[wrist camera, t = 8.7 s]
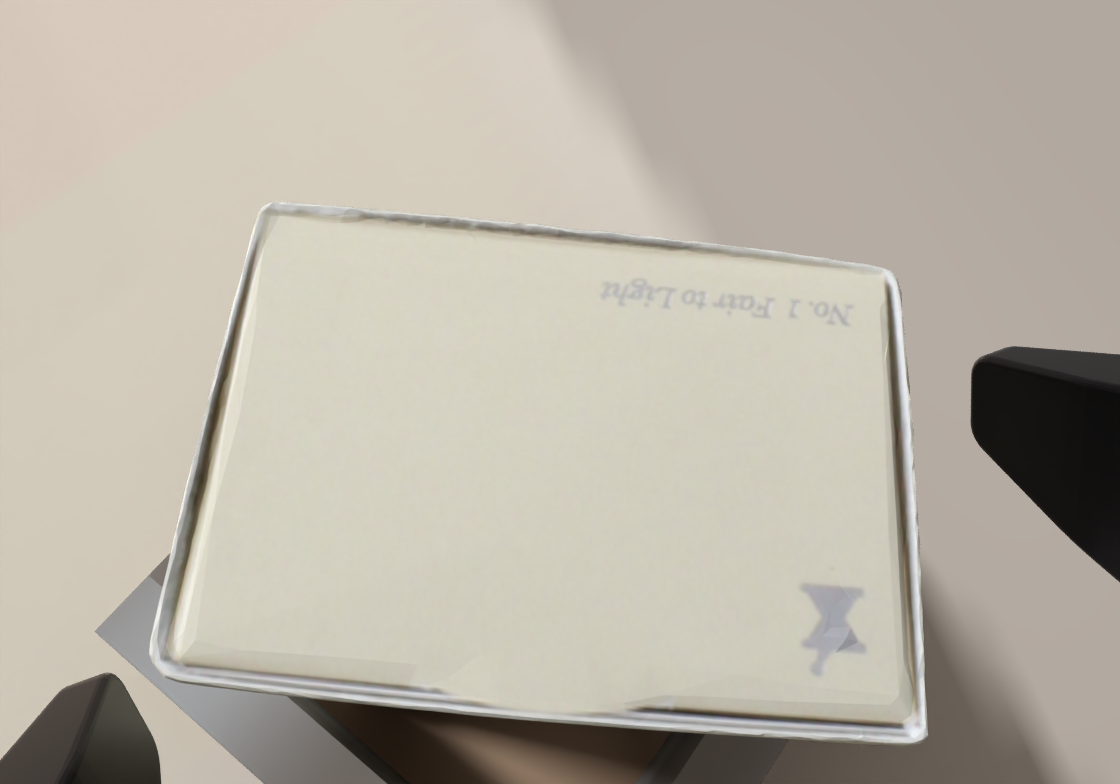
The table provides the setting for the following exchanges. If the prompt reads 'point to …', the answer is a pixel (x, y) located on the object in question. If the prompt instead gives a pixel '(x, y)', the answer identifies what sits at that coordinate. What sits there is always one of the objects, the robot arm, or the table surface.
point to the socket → (425, 734)
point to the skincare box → (555, 482)
